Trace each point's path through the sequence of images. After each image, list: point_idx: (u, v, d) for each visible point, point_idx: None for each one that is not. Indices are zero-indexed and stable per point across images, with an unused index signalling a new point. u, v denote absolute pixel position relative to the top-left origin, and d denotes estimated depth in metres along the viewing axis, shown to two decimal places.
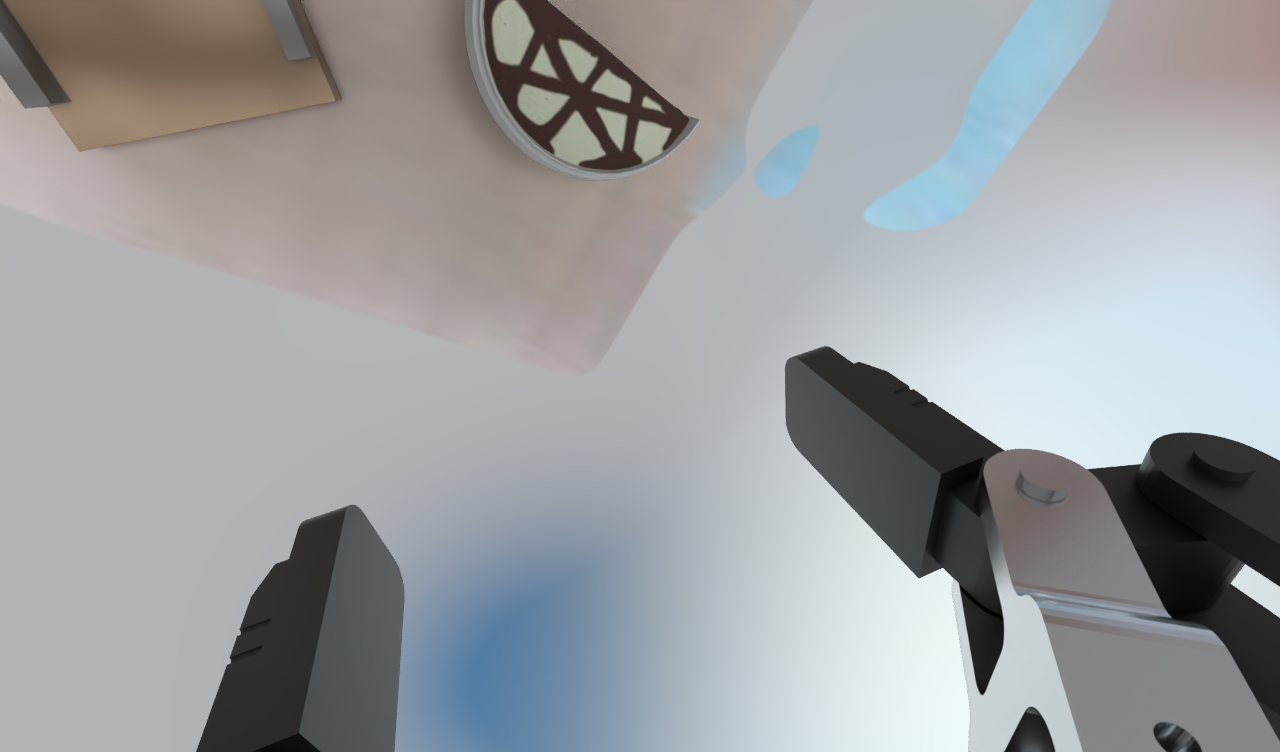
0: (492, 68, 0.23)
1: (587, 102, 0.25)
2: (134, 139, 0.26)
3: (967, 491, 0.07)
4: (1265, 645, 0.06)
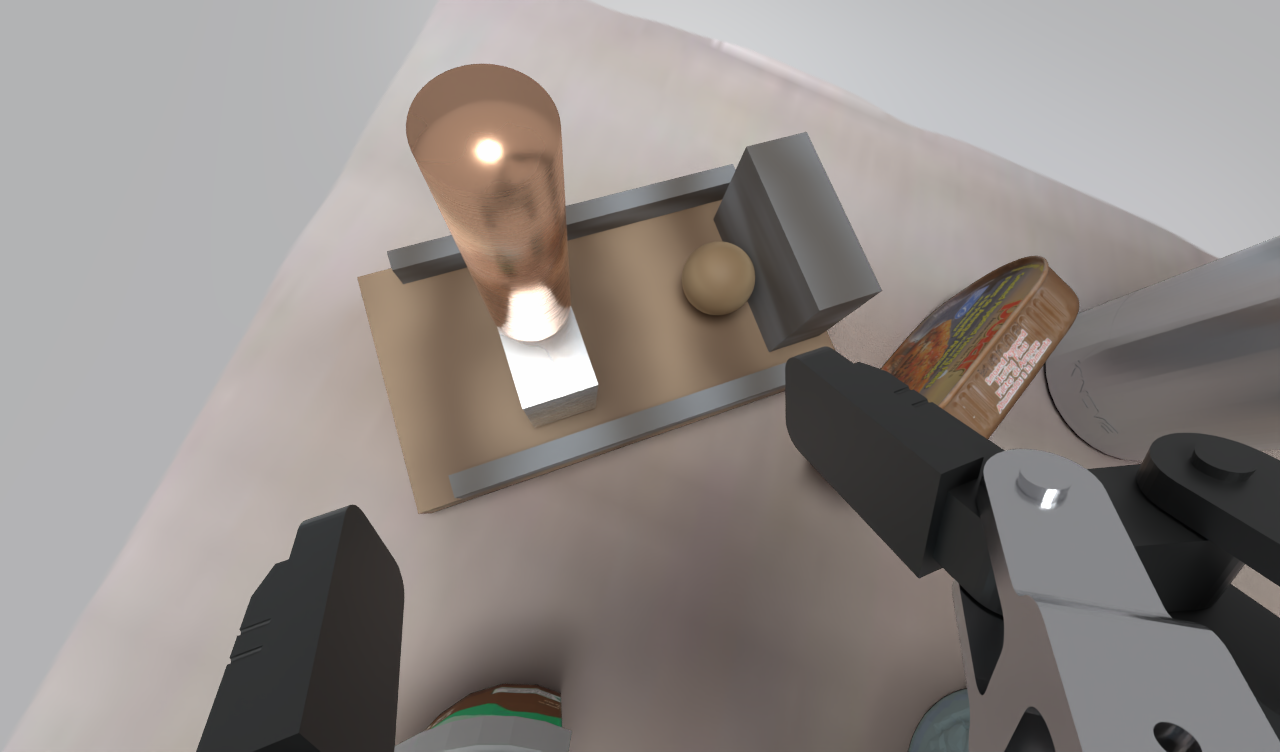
0: None
1: None
2: (369, 321, 0.25)
3: (967, 491, 0.07)
4: (1265, 645, 0.06)
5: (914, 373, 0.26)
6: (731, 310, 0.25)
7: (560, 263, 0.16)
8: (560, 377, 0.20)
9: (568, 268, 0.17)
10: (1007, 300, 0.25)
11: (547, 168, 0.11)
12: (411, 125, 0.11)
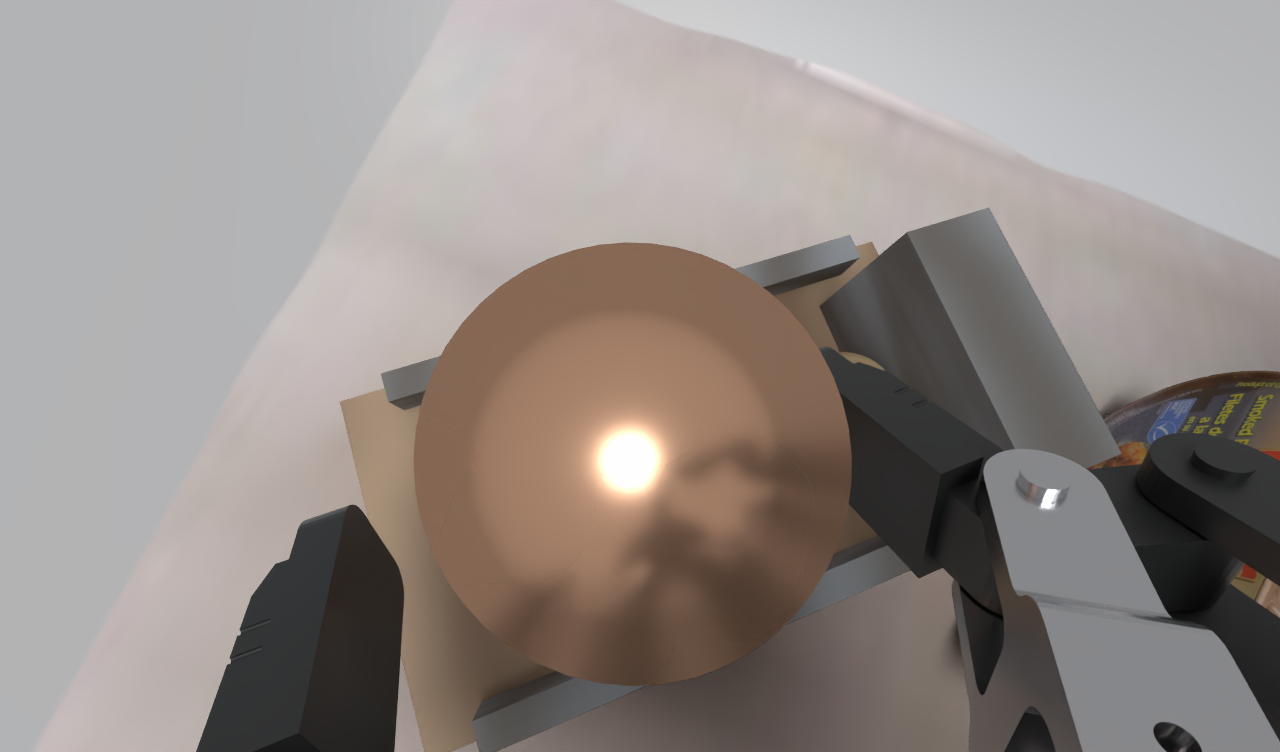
0: None
1: None
2: (357, 467, 0.18)
3: (967, 491, 0.07)
4: (1265, 645, 0.06)
5: None
6: None
7: None
8: None
9: None
10: (1261, 441, 0.17)
11: (825, 564, 0.04)
12: (429, 455, 0.04)
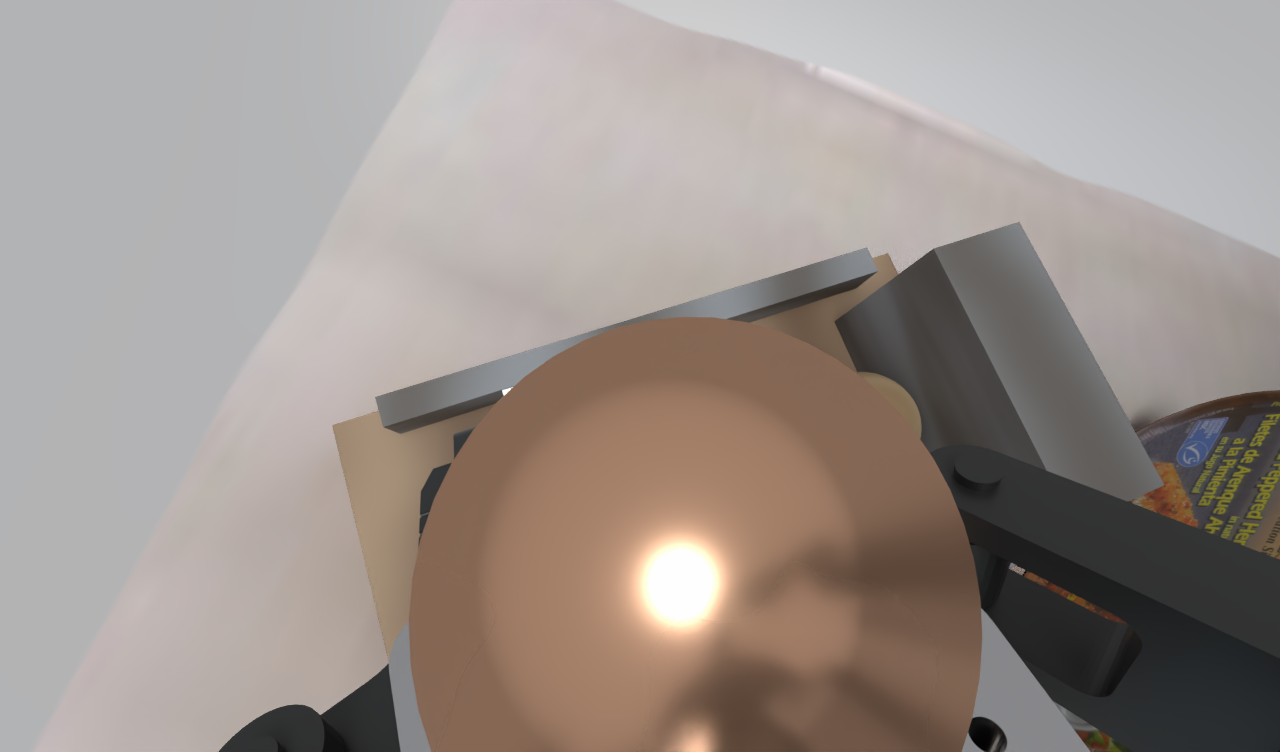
0: None
1: None
2: (350, 495, 0.17)
3: None
4: (1045, 619, 0.07)
5: None
6: None
7: None
8: None
9: None
10: None
11: (953, 750, 0.03)
12: (430, 618, 0.03)
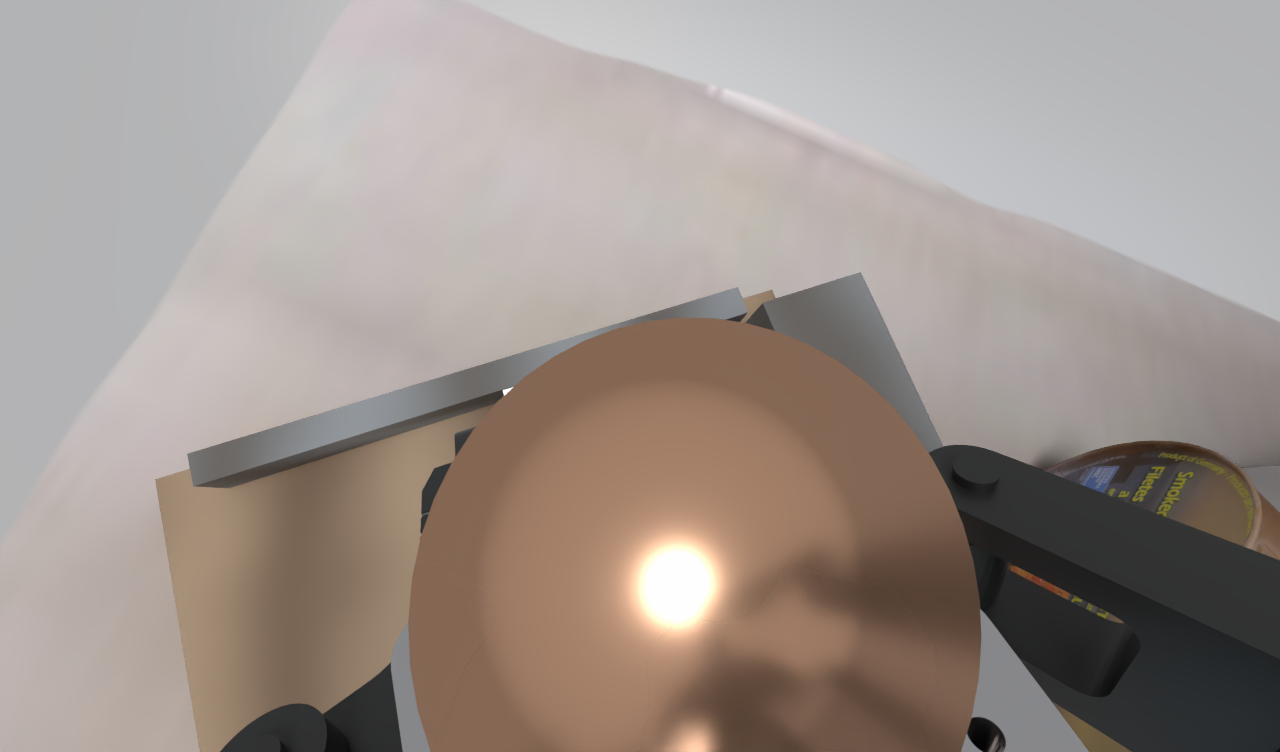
0: None
1: None
2: (169, 555, 0.16)
3: None
4: (1043, 620, 0.07)
5: None
6: None
7: None
8: None
9: None
10: None
11: (950, 749, 0.03)
12: (429, 618, 0.03)
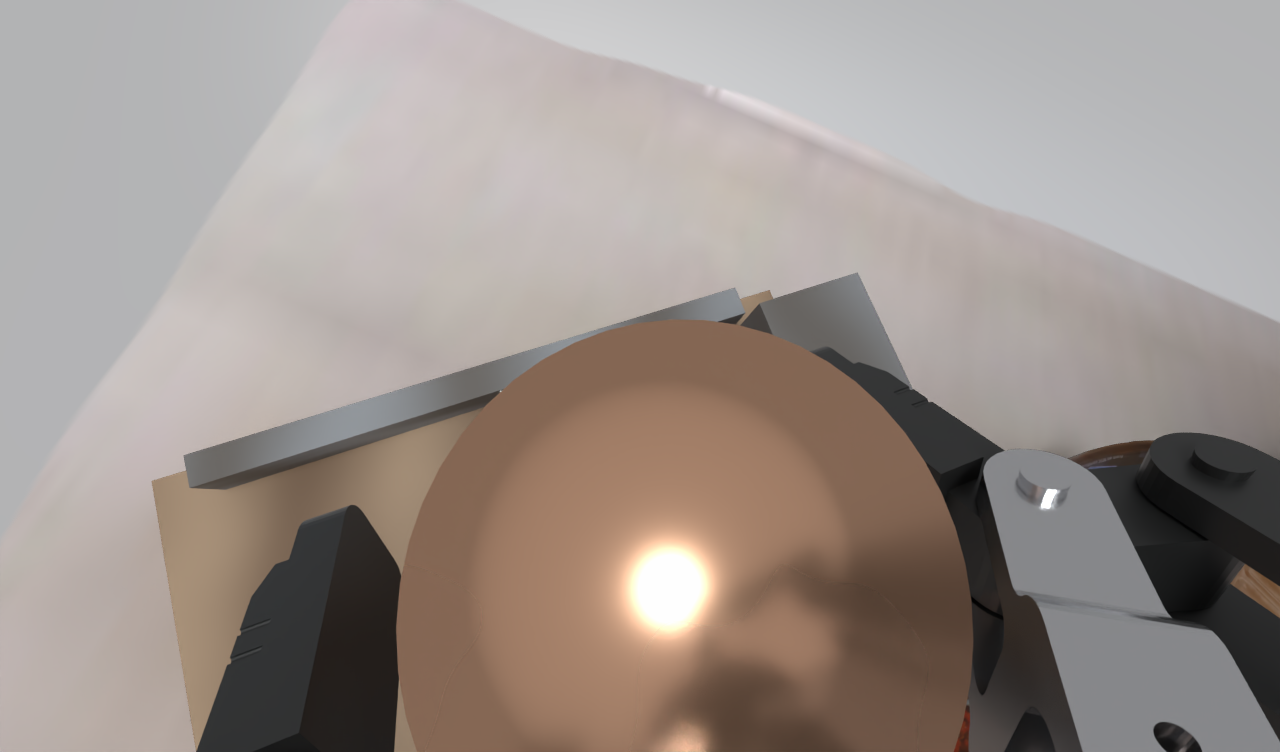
0: None
1: None
2: (165, 557, 0.16)
3: (967, 491, 0.07)
4: (1265, 645, 0.06)
5: None
6: None
7: None
8: None
9: None
10: None
11: None
12: (417, 622, 0.03)
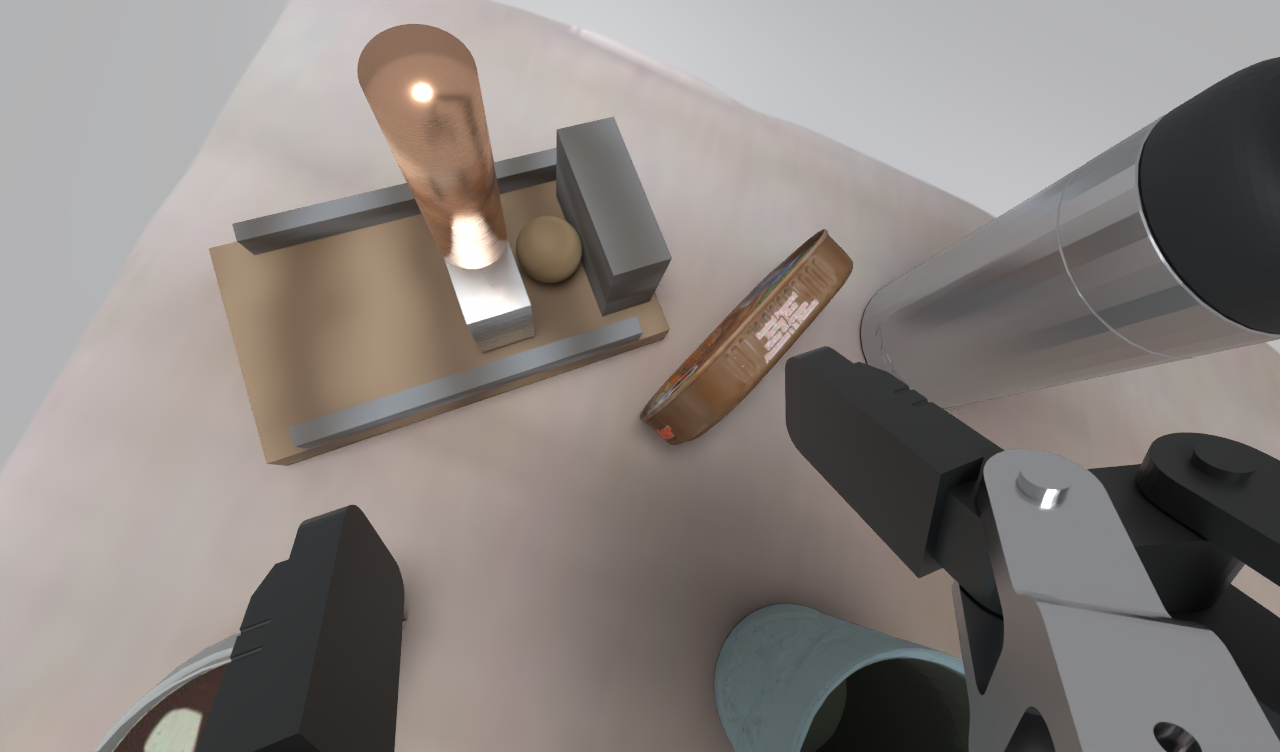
0: (219, 669, 0.18)
1: None
2: (221, 290, 0.27)
3: (967, 491, 0.07)
4: (1265, 645, 0.06)
5: (727, 333, 0.30)
6: (559, 278, 0.28)
7: (489, 192, 0.19)
8: (499, 299, 0.24)
9: (499, 201, 0.21)
10: None
11: (467, 105, 0.15)
12: (361, 69, 0.14)
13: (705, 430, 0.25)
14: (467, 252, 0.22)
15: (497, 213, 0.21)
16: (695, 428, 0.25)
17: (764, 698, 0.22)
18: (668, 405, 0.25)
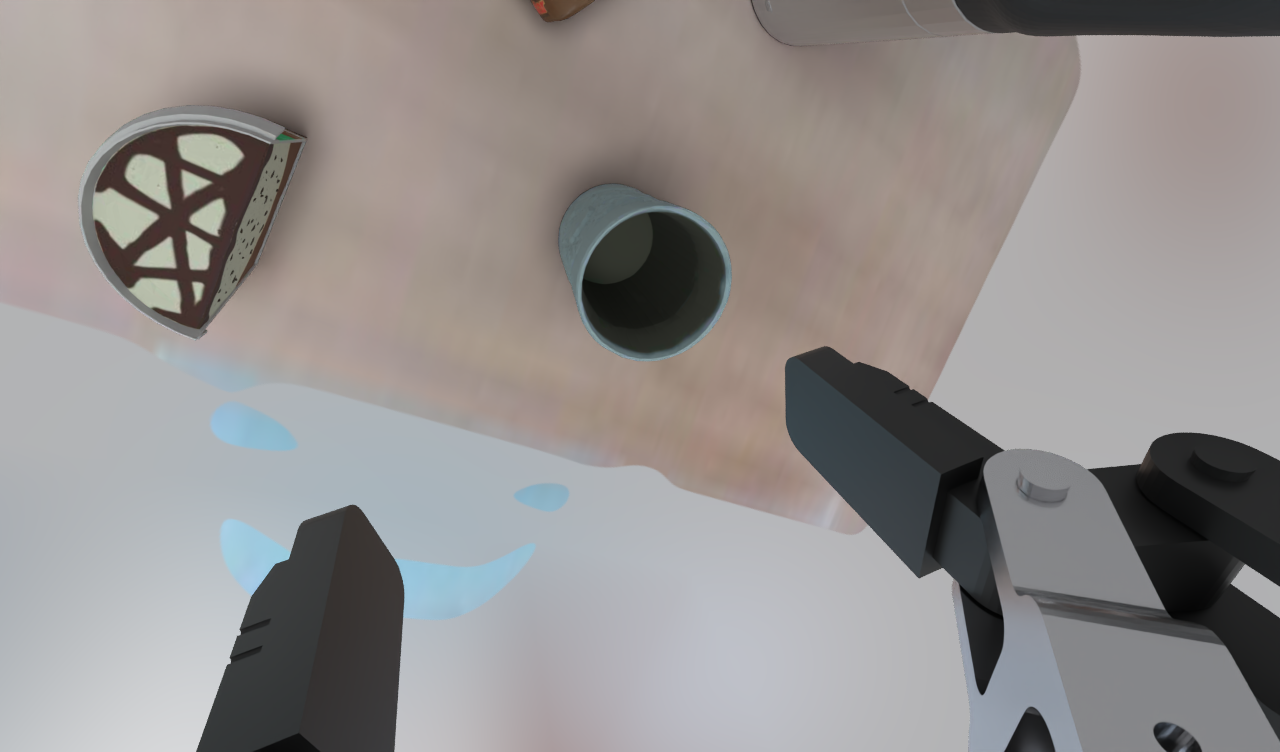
0: (166, 130, 0.24)
1: (172, 227, 0.25)
2: None
3: (967, 491, 0.07)
4: (1265, 645, 0.06)
5: None
6: None
7: None
8: None
9: None
10: None
11: None
12: None
13: (574, 12, 0.28)
14: None
15: None
16: (565, 8, 0.28)
17: (583, 229, 0.33)
18: None
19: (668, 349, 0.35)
